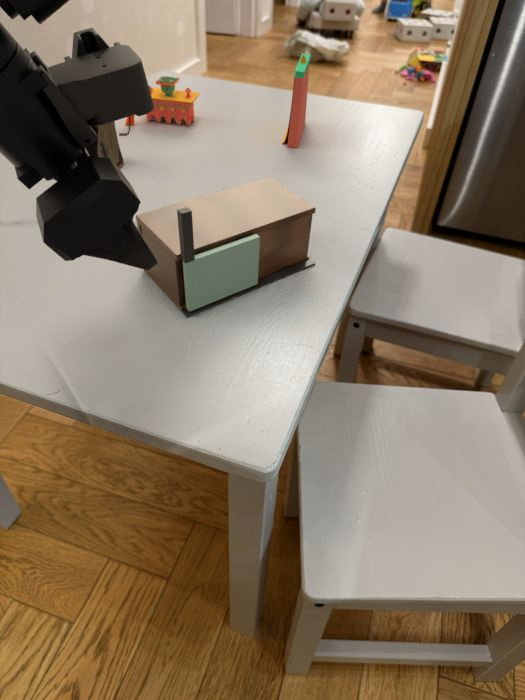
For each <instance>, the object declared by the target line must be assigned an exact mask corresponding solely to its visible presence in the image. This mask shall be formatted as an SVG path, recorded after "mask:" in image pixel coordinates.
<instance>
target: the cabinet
mask: <svg viewBox="0 0 525 700" xmlns="http://www.w3.org/2000/svg"><path fill="white" fill-rule="evenodd" d="M185 207H188V208H189V209H190V210H191V211H192V223H193V239H194V255H197V254H200V253H203V252H206V251H208V250H211V249H214V248H217V247H220V246H223V245H225V244H228V243H231V242H234V241H237V240H240V239H243V238H245V237H248V236H251V235H254V234H257V235H258V236H260V247H259V268H258V284H257V285H254V286H252V287H249V288H247V289H244V290H242V291H239V292H237V293H235V294H232V295H230V296H227V297H225V298H222V299H220V300H217V301H215V302H212V303H210V304H207V305H205V306H203V307H200V308H198V309H195V310H193V311H190V312H189V311H188V310H187V308H186V298H185V286H184V273H183V261H182V260H181V252H180V240H179V229H178V217H177V210H178V209H182V208H185ZM315 213H316V207H315V206H314V205H313V204H311V203H310V202H308V201H307V200H305V199H304V198H302V197H300V195H297V194H296V193H294V192H293V191H292V190H291V189H288V188H287V187H286V186H285V185H283V184H281V183H279V181H276V179H273V178H272V177H271V176H266V177H262V178H259V179H256V180H253V181H249V182H246V183H243V184H239V185H235V186H232V187H229V188H226V189H222V190H219V191H214V192H211V193H208V194H205V195H202V196H201V195H200V196H198V197H194V198H191V199H187V200H184V201H181V202H177V203H174V204H170V205H166V206H164V207H160V208H157V209H153V210H150V211H147V212H143V213H140V214H135V220H136V227H137V228H138V230H139V232H140V233H141V235H142V236H143V238H144V240H145V241H146V243H147V245H148V246H149V248H150V250H151V251H152V253H153V254H154V256H155V258H156V260H157V264H156V265H155V266H154V267H152V268H151V269H150V270H144V269H143V271H144V272H145V273H146V274H147V275H148V276H149V277H150V278H151V279H152V281H153V282H154V283H155V284H156V285H157V286H158V287H159V288H160V290H161V291H162V292H164V295H166V296H167V297H168V299H170V301H172V303H173V304H174V305H175V306H176V307H177V308H178V309H179V311H180V312H181V313H182V314H183V315H184V316H185V317H186V318H189V317H192V316H194V315H198V314H200V313H202V312H204V311H206V310H209V309H212V308H214V307H216V306H219V305H221V304H223V303H226V302H228V301H231V300H233V299H236V298H238V297H241V296H242V295H245V294H248V293H250V292H253V291H256V290H258V289H260V288H262V287H264V286H265V287H266V286H267V285H270V284H272V283H274V282H276V281H279V280H282V279H284V278H286V277H289V276H291V275H294V274H296V273H299V272H301V271H304V270H306V269H309V268H311V267H314V266H316V262H314V261H313V260H312V259H310V256H309V255H308V253H309V246H310V238H311V231H312V222H313V215H314V214H315Z"/></svg>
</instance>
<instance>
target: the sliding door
mask: <svg viewBox="0 0 525 700" xmlns="http://www.w3.org/2000/svg"><path fill="white" fill-rule="evenodd" d="M177 217H178V229H179V240H180V252H181V260H182V261H183V273H184V286H185V298H186V308H187V310H188V311H189V312H190V311H193V310H195V309H198V308H200V307H203V306H205V305H207V304H210V303H212V302H215V301H217V300H220V299H222V298H225V297H227V296H230V295H232V294H235V293H237V292H239V291H242V290H244V289H247V288H249V287H252V286H254V285H257V284H258V268H259V247H260V236H258V235H257V234H254V235H251V236H248V237H245V238H243V239H240V240H237V241H234V242H231V243H228V244H225V245H223V246H220V247H217V248H214V249H211V250H208V251H206V252H203V253H200V254H197V255H194V239H193V223H192V211H191V210H190V209H189V208H188V207H185V208H182V209H178V210H177Z"/></svg>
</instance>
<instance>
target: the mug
mask: <svg viewBox="0 0 525 700" xmlns="http://www.w3.org/2000/svg"><path fill="white" fill-rule="evenodd" d="M115 122H116V121H113V122H110V123H107V124H103V125H99V126H98V150H97V152H98V155H99V157H104V158H110V159H111V160H112V161H113V162H114V164H115V165H116V166H117V167H118V168H119V169H120V170H121V169H122V168H123V167H124V166H125V161H124V157H123V154H122V151H121V147H120V143H119V138H118V136H119V137H127V136H129V134H130V131H131V125H130V116H129V125H128V131H127V132H119V133H117V129H116V123H115Z"/></svg>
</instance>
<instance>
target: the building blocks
mask: <svg viewBox="0 0 525 700" xmlns="http://www.w3.org/2000/svg"><path fill="white" fill-rule="evenodd" d="M311 56H312V54H311V53H301V55H300V58H299V60H298V61H297V64H296V67H295V69H294V76H293V78H294V79H293V87H292V97H291V104H290V105H291V106H290V111H289V112H290V113H289V119H288V127H287V130H286V132H285V134H284V138H283V140H282V144H284V143H285V141H286V139H287V145H286V146H287V148H294V149H298V148H299V145H300V142H301V138H302V135H303V132H304V128H305V125H306V116H307V115H306V114H307V104H308V103H307V102H308V87H309V75H310V74H309V73H310V63H311ZM179 81H180V78H179V77H175V76H165V75H162V76H160V77H159V78H158V79H157V80H156V81H155V84H156V85H158V86H159V87H160V88H157V87H151V85H148V86H149V89H150V93H151V96H152V100H153V103H154V109H153V110H152V111H151V112H150V113H148V114H145V115H146V121H147V122H151V121H152V119H153V118H154V119H155V121H156V123H161V122H162V120H163V119H165V122H166V124H172V121H173V120H175V122H176V125H179V126H180V125H182V123H183V121H185V124H186V125H187V126H188V127H190V126H192V122H194V121H195V106H194V105H195V104H194V103H195V101H196V100H197V99H198V97H199V96H200V94H201V93H200V92H195V91H193V90H191V88H190V87H186V88H185V89H184V90H178V89H177V90H176V85H177V83H179ZM125 125H126V126H129V117H126V119H125ZM134 125H135V115H132V116H130V127H131V126H134Z"/></svg>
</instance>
